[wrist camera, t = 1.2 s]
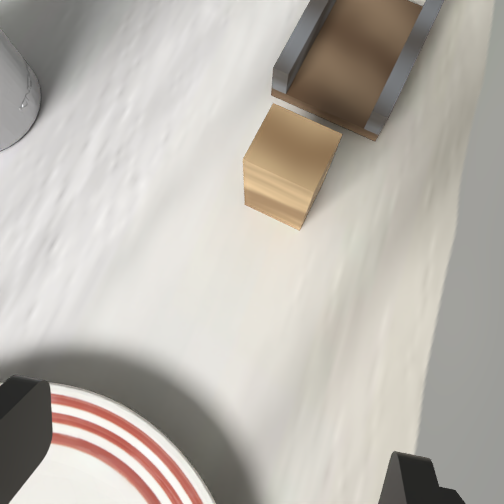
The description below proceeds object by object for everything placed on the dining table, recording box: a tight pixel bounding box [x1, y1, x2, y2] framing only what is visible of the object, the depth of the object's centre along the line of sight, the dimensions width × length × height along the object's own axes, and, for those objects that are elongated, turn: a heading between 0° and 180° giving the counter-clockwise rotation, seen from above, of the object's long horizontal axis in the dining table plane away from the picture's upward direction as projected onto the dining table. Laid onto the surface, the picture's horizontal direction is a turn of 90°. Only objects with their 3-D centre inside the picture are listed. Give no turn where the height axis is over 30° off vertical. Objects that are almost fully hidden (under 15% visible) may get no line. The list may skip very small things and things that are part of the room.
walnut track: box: [271, 0, 444, 141], centre depth 35 cm, size 12×9×4 cm
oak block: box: [243, 103, 343, 231], centre depth 30 cm, size 4×4×8 cm
